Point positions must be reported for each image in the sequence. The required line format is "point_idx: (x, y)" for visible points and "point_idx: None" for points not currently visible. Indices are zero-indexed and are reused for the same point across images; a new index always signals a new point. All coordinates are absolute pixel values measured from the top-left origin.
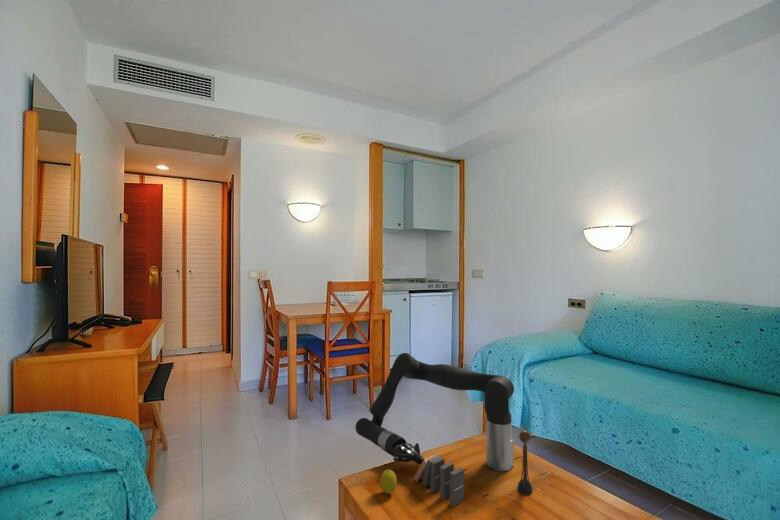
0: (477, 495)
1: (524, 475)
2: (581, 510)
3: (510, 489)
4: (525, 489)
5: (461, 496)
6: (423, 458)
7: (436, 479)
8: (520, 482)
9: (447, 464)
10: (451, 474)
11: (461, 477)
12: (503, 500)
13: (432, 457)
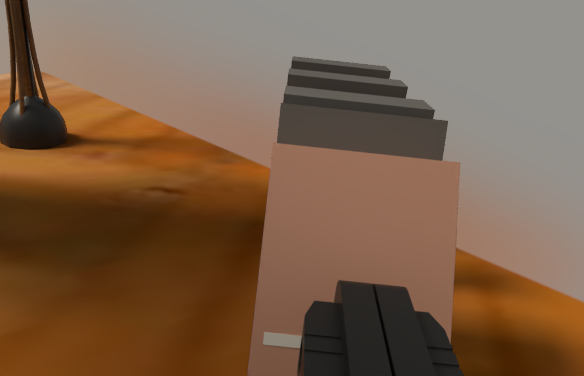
0: (193, 203)
1: (38, 75)
2: (81, 93)
3: (58, 158)
4: (63, 121)
5: None
6: (350, 281)
7: None
8: (41, 113)
9: (334, 77)
10: (387, 75)
11: None
12: (158, 160)
13: (369, 113)
